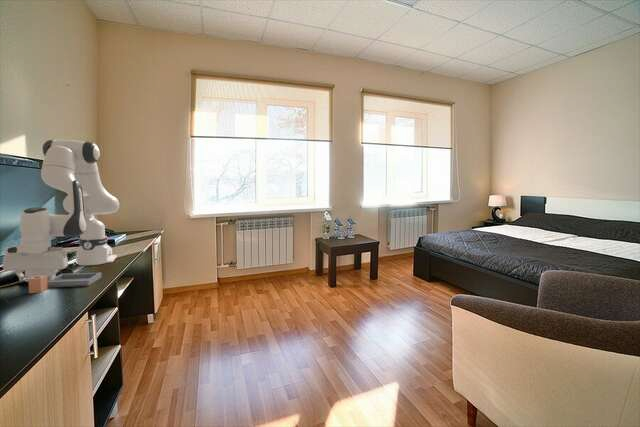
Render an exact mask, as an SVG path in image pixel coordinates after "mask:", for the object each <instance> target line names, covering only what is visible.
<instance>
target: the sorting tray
mask: <svg viewBox="0 0 640 427" xmlns="http://www.w3.org/2000/svg"><path fill="white" fill-rule="evenodd" d="M101 278H102V272H81V273H79V272H78V273H60V274H59V275H56V277H55V278H54V279H53V280H47V289H49V288H51V289H52V288H69V287H70V288H72V287H73V288H74V287H89V286H91V285H92V284H95V283H96V282H97V281H99V280H100V279H101Z"/></svg>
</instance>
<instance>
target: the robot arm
mask: <svg viewBox="0 0 640 427" xmlns="http://www.w3.org/2000/svg"><path fill="white" fill-rule="evenodd" d="M41 151H42V154H43V156H44V157H43V161H42V165H41V170H40V176H41V179H42V180H41V181H43V182H44V183H45V184H46V185H47V186H49V187H51V188H53V189H56V190H59V191H62V192H64V193H66V194H67V196H65V198H64V199H63V202H62V206H63V209H64V211H66V212H67V213H68V214H54V213H53V214H52V213H50V212H49V209H48V208H46V207H30V208H29V207H28V208H26V209H23V210H22V211H21V214H20V221H19V231H20V233H21V238H20V243H18V244H15V245H12V246H9V247H5V248H4V253H5V254H4V255H3V258H2V269H3V270H4V271H6V272H11V271H14V273H15V275H16V276H17V277H18V279H19V280H18V281H19V282H26V281H25V280H27V276H25V274H24V273H23V272H24V271H25V270H51V272H52V274H51V275H49V276H48V280H53V279H54V278H55V277H54V275H55V274H57V272H58V271H59V270H63V269H66V268H67V267H68V266H69V261H68V260H69V259H68V250H67V249H66V248H65V247H63V246H52V237H68V238H78V237H79V239H78V240H79V241H78V244H79V247H78V248H76V256H75V261H77V263H78V266H97V265H98V266H99V265H101V264H102V265H103V264H109V263H113V262H114V261H115V260H116V258H118V255H117V254H113V248H112V246H110V245H108V240H109V237H108V236H106V225H105V224H104V223H103V221H100V220H99V219H96V218H95V216H94V215H109V214H115V213H117V211H118V210H119V208H120V202H119V200H118V198H117V197H116V196H113V195H112V194H110V193H109V191H108V190H106V188H105V187H104V186H103V184H102V181H101V176H100V172H99V167H98V163H97V162H98V161H99V160H100V157H101V151H100V148H99V146H98V145H97V144H96V143H94V142H91V141H83V140H75V139H48V140H46V141H45V142H44V143H43V144H42V150H41ZM83 191H84V192H85V193H86V194H84V193H83ZM48 280H47V281H48Z"/></svg>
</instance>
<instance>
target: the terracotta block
mask: <svg viewBox="0 0 640 427" xmlns="http://www.w3.org/2000/svg"><path fill="white" fill-rule="evenodd" d="M47 281H48V280H47V276H34V277H32V278H30V279H29V282H28V293H29V294H40V293H43V292H45V291H47V290H48V288H47Z"/></svg>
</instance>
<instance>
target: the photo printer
mask: <svg viewBox="0 0 640 427" xmlns="http://www.w3.org/2000/svg"><path fill="white" fill-rule="evenodd" d="M51 274H52V272H51V270H24V276H27V280H25V281H24V282H26V283H27V282H28V283H29V279H30V278H32V277H34V276H47V281H48V276H49V275H51ZM56 274H57V273H56ZM56 274H55V275H54V277H56V276H57V275H56Z"/></svg>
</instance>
